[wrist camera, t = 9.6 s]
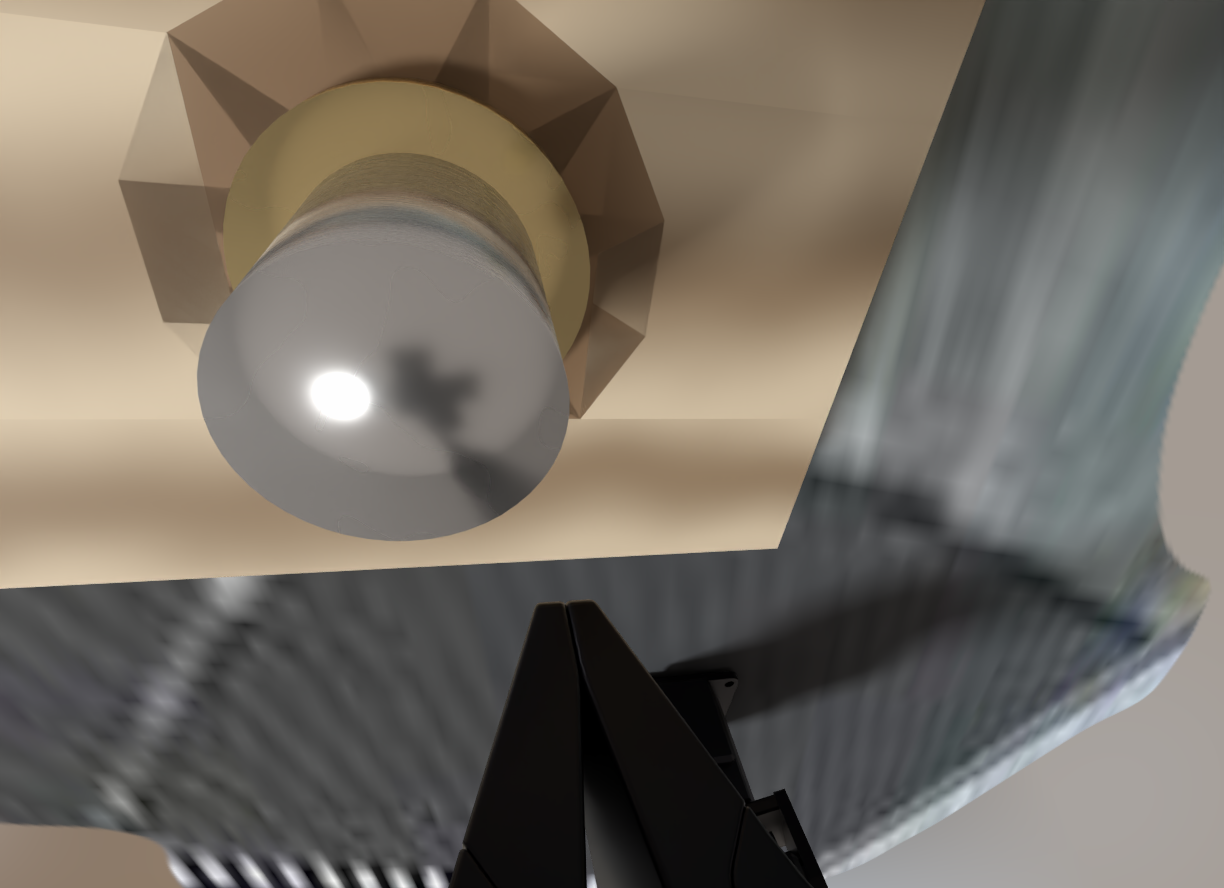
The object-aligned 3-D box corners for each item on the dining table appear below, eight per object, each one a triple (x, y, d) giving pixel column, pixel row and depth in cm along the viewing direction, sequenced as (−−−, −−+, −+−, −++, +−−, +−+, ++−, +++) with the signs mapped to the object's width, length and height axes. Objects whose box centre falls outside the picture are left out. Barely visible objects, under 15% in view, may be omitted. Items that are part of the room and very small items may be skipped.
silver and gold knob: (555, 344, 19) (613, 575, 11) (306, 338, 17) (181, 601, 10) (575, 79, 15) (685, 165, 7) (252, 40, 13) (-29, 99, 6)
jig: (736, 474, 24) (777, 548, 21) (72, 489, 19) (-7, 588, 16) (926, -164, 14) (1066, -213, 10) (-405, -488, 9) (-900, -761, 6)
